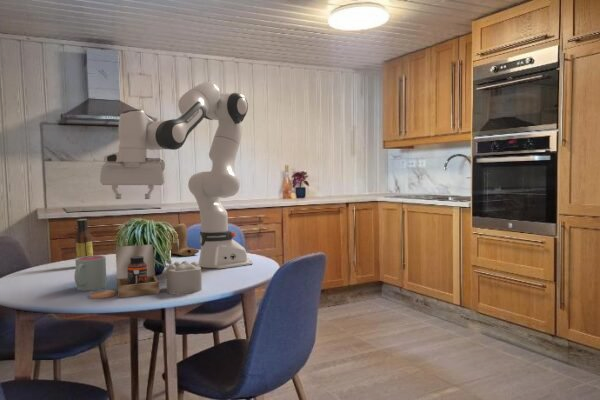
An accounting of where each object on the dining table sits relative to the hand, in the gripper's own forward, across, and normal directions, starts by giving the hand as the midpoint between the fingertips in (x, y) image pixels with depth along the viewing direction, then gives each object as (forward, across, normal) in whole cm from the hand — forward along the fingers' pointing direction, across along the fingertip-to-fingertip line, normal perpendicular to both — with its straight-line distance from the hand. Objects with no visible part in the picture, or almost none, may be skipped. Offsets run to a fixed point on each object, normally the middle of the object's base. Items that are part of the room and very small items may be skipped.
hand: (133, 199), depth 155 cm
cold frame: (+30, -2, +4) cm, 30 cm away
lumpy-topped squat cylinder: (+30, -17, +6) cm, 35 cm away
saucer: (+30, +7, +10) cm, 32 cm away
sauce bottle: (+30, +29, -42) cm, 59 cm away
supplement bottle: (+30, -3, +6) cm, 31 cm away
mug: (+30, +15, 0) cm, 34 cm away
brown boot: (+28, -8, -63) cm, 70 cm away
